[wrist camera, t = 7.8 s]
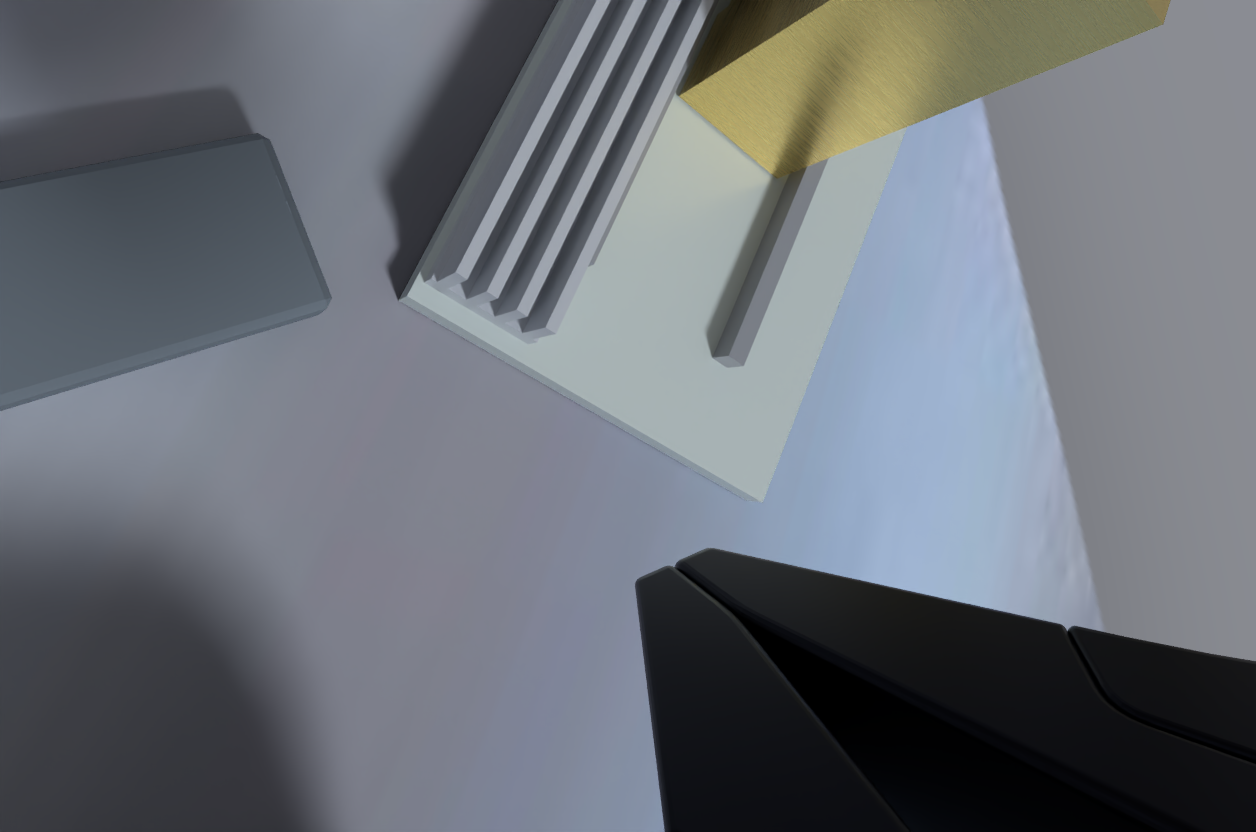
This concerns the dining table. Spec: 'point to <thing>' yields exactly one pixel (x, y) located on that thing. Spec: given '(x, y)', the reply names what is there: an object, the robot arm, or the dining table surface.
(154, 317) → the dark grey flat block
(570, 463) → the dining table surface
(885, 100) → the yellow rectangular block
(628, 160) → the socket board
